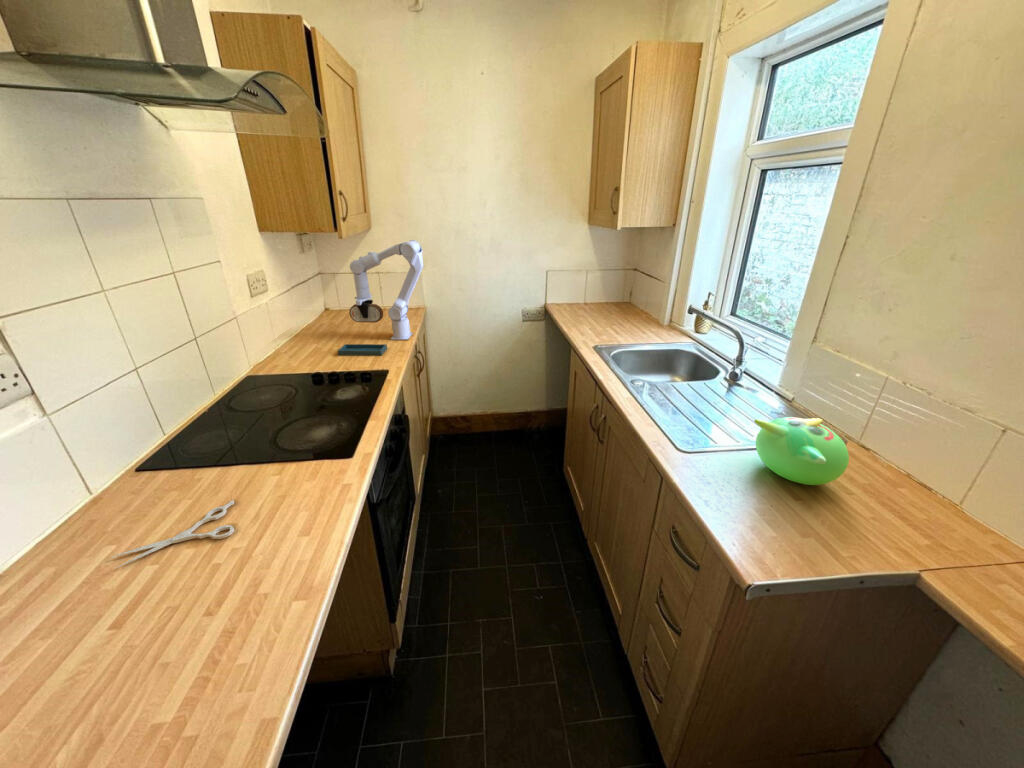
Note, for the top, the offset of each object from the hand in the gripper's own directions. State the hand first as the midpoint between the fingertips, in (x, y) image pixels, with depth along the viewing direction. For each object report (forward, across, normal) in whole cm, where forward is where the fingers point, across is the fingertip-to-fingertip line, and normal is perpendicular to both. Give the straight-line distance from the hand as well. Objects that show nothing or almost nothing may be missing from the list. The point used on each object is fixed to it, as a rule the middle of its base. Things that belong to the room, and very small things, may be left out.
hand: (366, 317), depth 191 cm
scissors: (+9, +126, +6) cm, 127 cm away
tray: (+9, +21, +4) cm, 23 cm away
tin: (+3, 0, 0) cm, 3 cm away
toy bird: (+10, +102, +136) cm, 170 cm away
